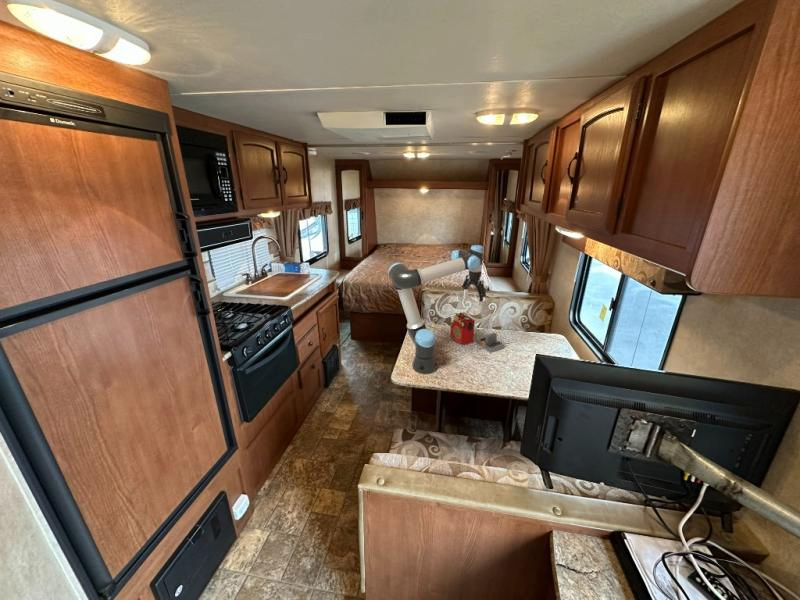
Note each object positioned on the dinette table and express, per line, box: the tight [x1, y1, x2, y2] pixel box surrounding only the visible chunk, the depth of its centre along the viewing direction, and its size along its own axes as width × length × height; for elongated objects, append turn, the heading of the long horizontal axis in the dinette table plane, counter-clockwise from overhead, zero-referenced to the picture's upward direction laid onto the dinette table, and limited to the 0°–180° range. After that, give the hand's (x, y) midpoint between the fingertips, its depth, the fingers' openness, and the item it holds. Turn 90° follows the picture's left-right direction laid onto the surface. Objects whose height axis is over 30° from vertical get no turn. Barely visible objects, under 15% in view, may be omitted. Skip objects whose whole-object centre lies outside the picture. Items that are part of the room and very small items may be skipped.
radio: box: [450, 311, 476, 345], centre depth 218 cm, size 16×10×20 cm, turn 28°
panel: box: [485, 332, 498, 344], centre depth 213 cm, size 8×2×8 cm, turn 119°
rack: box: [475, 335, 505, 354], centre depth 214 cm, size 12×15×4 cm
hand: (472, 302), depth 198 cm, fingers open, 13 cm apart
